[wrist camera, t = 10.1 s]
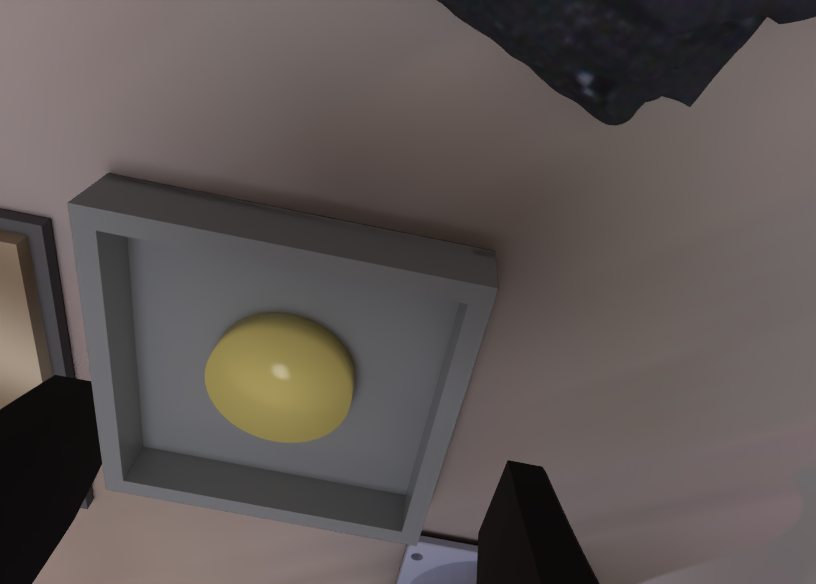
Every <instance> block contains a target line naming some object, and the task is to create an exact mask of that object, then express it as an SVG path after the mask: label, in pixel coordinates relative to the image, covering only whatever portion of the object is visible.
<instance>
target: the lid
mask: <svg viewBox="0 0 816 584" xmlns="http://www.w3.org/2000/svg"><path fill="white" fill-rule="evenodd" d="M52 376H53V374H52V369H51V363H50V358H49V352H48V346H47V341H46V335H45V329H44V324H43V318H42V313H41V307H40V301H39V296H38V290H37V284H36V279H35V273H34V268H33V262H32V256H31V251H30V245H29V239H28V236H27V235H21V234H16V233H11V232H6V231H1V230H0V409H1V408H3V407H4V406H6V405H8V404H9V403H11V402H12V401H14V400H15V399H17V398H19V397H20V396H22V395H23V394H25V393H27V392H28V391H30V390H31V389H33V388H34V387H36V386H38V385H39V384H41V383H42V382H44V381H46V380H47V379H49V378H51V377H52Z"/></svg>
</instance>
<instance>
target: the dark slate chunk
mask: <svg viewBox="0 0 816 584" xmlns="http://www.w3.org/2000/svg"><path fill="white" fill-rule="evenodd" d="M437 1H439V2H440V3H442V4H443V5H444V6H446V7H447V8H448V9H449V10H450V11H451V12H452V13H453V14H454V15H455V16H457V17H458V18H460V19H461V20H462V21H464V22H465V23H467V24H469V25H470V26H472V27H473V28H475V29H476V30H478V31H480V32H481V33H483V34H485V35H486V36H488V37H489V38H491V39H492V40H494V41H495V42H496V43H497V44H498V45H500V46H501V47H502V48H503V49H504V50H505V51H506V52H507V53H508V54H510V55H511V56H512V57H514V58H515V59H517V60H519V61H521V62H523V63H525V64H526V65H528V66H529V67H530V68H531V69H532V70H533V71H534V72H535V73H536V74H537V75H538V76H539V77H540V78H541V79H542V80H544V81H545V82H546V83H547V84H548V85H549V86H550V87H551V88H553V89H554V90H555V91H557V92H558V93H560V94H562V95H563V96H565V97H568V98H570V99H571V100H573V101H575V102H577V103H578V104H579V105H581V106H582V107H583V108H584V109H585V110H586V111H587V112H589V113H590V114H591V115H592V116H593V117H595V118H596V119H598V120H599V121H601V122H603V123H605V124H608V125H619V124H623V123H625V122H627V121H628V120H630V119H631V118H632V117H633V115H634V114H635V113H636V111H637V110H638V109H639V108H640V107H641V106H642V105H643V104H644V103H645V102H648V101H652V100H655V99H658V98H659V97H661V96H664V97H668V98H671V99H674V100H677V101H680V102H682V103H684V104H686V105H687V106H689V107H690V106H691V105H692V104H693V103H694V102H695V101H696V99H697V98H698V97H699V96H700V94H701V93H702V92H703V91H704V89H705V88H706V87H707V86H708V84H709V83H710V82H711V81H712V79H713V78H714V77H715V76H716V74H717V73H718V72H719V71H720V70H721V69H722V67H723V66H724V65H725V64H726V63H727V62H728V61H729V60H730V59H731V57H732V56H733V55H734V54H735V53H736V52H737V51H738V50H739V49H740V48H741V47H742V46H743V45H744V44H745V43H746V42H747V41H748V39H749V38H750V37H751V36H752V35H753V34H754V32H755V31H756V30H757V29H758V27H759V26H760V25H761V24H762V22H763V21H764V20H765V18H766V17H769V18H771V19H772V20H774V21H775V22H777V23H778V24H785V23H791V22H796V21H801V20H805V19H809V18H812V17H816V0H437Z"/></svg>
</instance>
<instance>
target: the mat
mask: <svg viewBox="0 0 816 584" xmlns="http://www.w3.org/2000/svg"><path fill="white" fill-rule="evenodd" d="M0 230H1V231H6V232H11V233H16V234H21V235H27V236H28V239H29V245H30V251H31V256H32V262H33V268H34V273H35V279H36V284H37V290H38V296H39V301H40V307H41V313H42V318H43V324H44V329H45V335H46V341H47V346H48V352H49V358H50V363H51V369H52V374H53V376H54V375H59V376H65V377H70V378H75V376H74V369H73V363H72V356H71V350H70V343H69V337H68V330H67V324H66V317H65V311H64V304H63V297H62V291H61V284H60V278H59V271H58V265H57V258H56V252H55V245H54V239H53V232H52V225H51V219H48V218H43V217H38V216H33V215H28V214H23V213H18V212H13V211H8V210H3V209H0ZM92 501H93V494H92V487H90V489H89V492H88V494H87V496H86V497H85V499H84V501H83V503H82V505H81V507H80V508H84V509H88V507H89V506H90V504H91V503H92Z"/></svg>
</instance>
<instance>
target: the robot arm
mask: <svg viewBox="0 0 816 584" xmlns="http://www.w3.org/2000/svg"><path fill="white" fill-rule="evenodd" d="M101 465H102V459H101V451H100V444H99V437H98V429H97V422H96V414H95V407H94V399H93V392H92V384H91V381H86V380H80V379H75V378H70V377H65V376H59V375H54V376H52V377H51V378H49V379H47V380H46V381H44V382H42V383H41V384H39V385H38V386H36V387H34V388H33V389H31V390H30V391H28V392H27V393H25V394H23V395H22V396H20V397H19V398H17V399H15V400H14V401H12V402H11V403H9V404H8V405H6V406H4V407H3V408H1V409H0V584H32V583H33V581H34V580H35V578H36V577H37V575H38V574H39V572H40V571H41V569H42V568H43V566H44V565H45V563H46V562H47V560H48V559H49V557H50V556H51V554H52V553H53V551H54V550H55V548H56V547H57V545H58V544H59V542H60V540H61V539H62V537H63V536H64V534H65V533H66V531H67V530H68V528H69V527H70V525H71V523H72V522H73V520H74V519H75V517H76V515H77V513H78V511H79V509H80V507H81V505H82V503H83V501H84V499H85V497H86V496H87V494H88V492H89V489H90V487H91V485H92V483H93V481H94V479H95V477H96V475H97V473H98V471H99V469H100V467H101ZM395 584H599V582H598V580H597V578H596V576H595V574H594V572H593V570H592V568H591V566H590V565H589V563H588V561H587V559H586V557H585V555H584V553H583V551H582V549H581V547H580V545H579V543H578V541H577V538H576V536H575V534H574V532H573V530H572V528H571V526H570V524H569V522H568V520H567V518H566V515H565V513H564V511H563V509H562V507H561V505H560V502H559V500H558V498H557V496H556V494H555V491H554V489H553V487H552V485H551V482H550V480H549V478H548V476H547V473H546V472H545V470H544V469H543V467H541V466H535V465H530V464H525V463H519V462H514V461H509V460H508V461H507V464H506V466H505V469H504V471H503V474H502V476H501V478H500V481H499V483H498V486H497V488H496V491H495V493H494V496H493V498H492V501H491V503H490V506H489V508H488V511H487V513H486V516H485V518H484V521H483V523H482V526H481V528H480V531H479V534H478V546H476V545H470V544H465V543H459V542H454V541H448V540H443V539H437V538H432V537H427V536H420V537H419V540H418V544H417V546H412V545H407V547H406V551H405V554H404V557H403V560H402V564H401V567H400V570H399V574H398V577H397V580H396V583H395Z"/></svg>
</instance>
